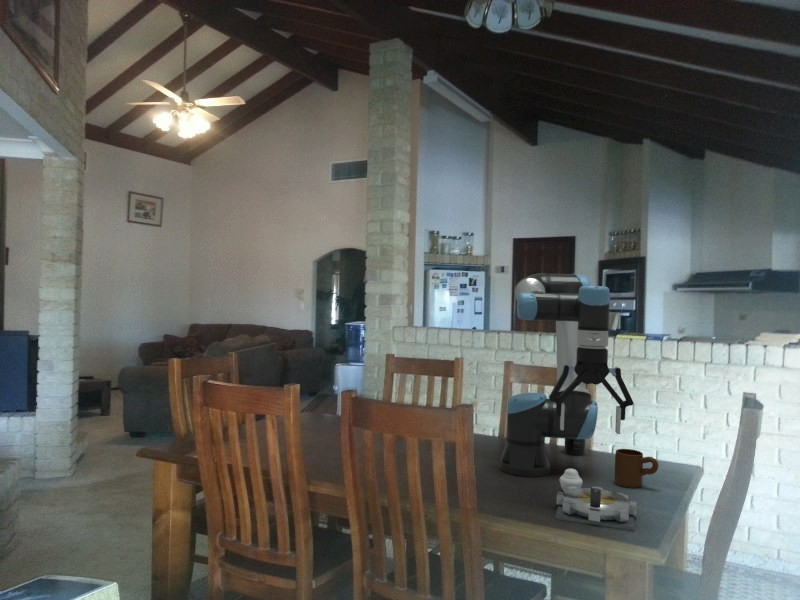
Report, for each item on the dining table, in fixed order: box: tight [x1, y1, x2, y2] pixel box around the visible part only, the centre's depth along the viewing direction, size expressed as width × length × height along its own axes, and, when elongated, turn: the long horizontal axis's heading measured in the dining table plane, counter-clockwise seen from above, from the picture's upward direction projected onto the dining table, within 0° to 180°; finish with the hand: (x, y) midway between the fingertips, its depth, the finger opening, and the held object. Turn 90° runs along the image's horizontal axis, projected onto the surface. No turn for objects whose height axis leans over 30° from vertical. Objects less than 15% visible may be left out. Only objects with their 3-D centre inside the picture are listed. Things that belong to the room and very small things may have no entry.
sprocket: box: [555, 486, 638, 522], centre depth 154 cm, size 19×19×6 cm
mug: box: [614, 448, 659, 489], centre depth 176 cm, size 12×8×9 cm, turn 50°
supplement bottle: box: [563, 438, 586, 457], centre depth 210 cm, size 7×7×12 cm
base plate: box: [554, 504, 636, 532], centre depth 154 cm, size 18×18×1 cm
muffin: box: [559, 467, 583, 492], centre depth 168 cm, size 6×6×7 cm
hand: (589, 431), depth 155 cm, fingers open, 13 cm apart
